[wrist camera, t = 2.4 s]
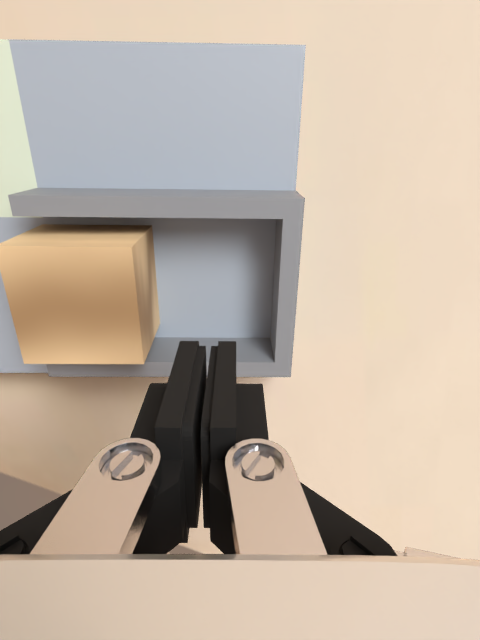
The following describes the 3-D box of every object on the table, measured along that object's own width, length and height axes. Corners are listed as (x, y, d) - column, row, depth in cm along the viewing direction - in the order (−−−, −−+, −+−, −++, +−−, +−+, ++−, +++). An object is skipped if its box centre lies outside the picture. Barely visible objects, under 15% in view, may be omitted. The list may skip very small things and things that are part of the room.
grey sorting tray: (-293, 44, 17) (-465, 13, 12) (297, 55, 17) (318, 28, 13) (-149, 353, 23) (-232, 400, 19) (279, 355, 23) (288, 401, 19)
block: (42, 224, 18) (-7, 246, 14) (151, 225, 18) (131, 247, 14) (62, 322, 20) (24, 363, 16) (160, 323, 20) (144, 364, 16)
